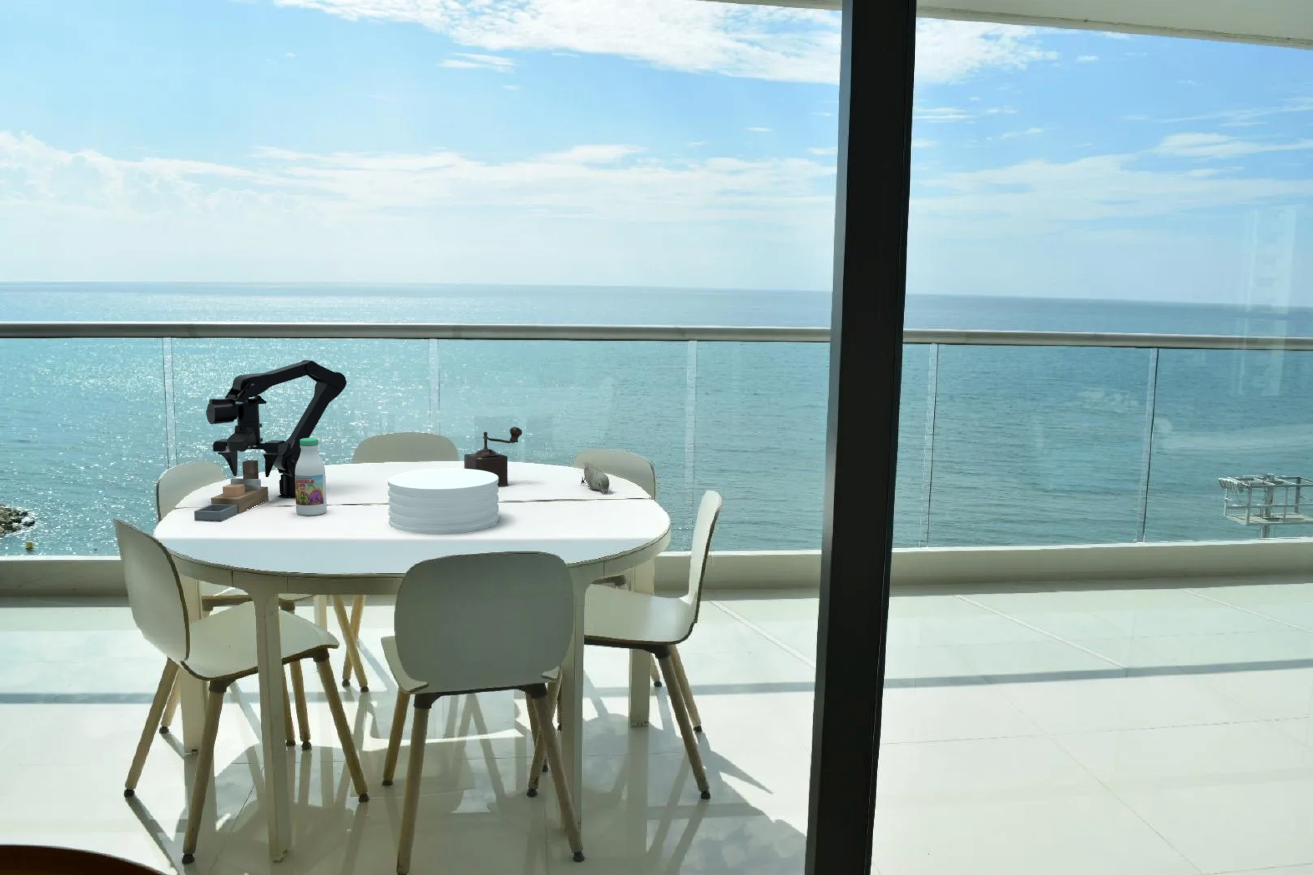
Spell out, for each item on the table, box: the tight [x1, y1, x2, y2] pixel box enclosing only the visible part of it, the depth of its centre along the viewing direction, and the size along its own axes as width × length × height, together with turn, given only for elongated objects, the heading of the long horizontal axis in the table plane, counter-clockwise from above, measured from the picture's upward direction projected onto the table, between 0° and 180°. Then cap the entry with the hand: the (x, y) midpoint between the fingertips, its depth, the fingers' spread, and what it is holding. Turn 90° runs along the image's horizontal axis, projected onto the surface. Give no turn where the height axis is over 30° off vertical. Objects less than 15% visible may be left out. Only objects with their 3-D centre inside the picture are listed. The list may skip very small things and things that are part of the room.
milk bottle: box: [295, 437, 328, 516], centre depth 263 cm, size 8×8×20 cm
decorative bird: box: [580, 461, 610, 495], centre depth 302 cm, size 5×16×8 cm, turn 26°
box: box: [193, 503, 239, 523], centre depth 258 cm, size 7×8×2 cm
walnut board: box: [210, 486, 270, 515], centre depth 271 cm, size 8×16×4 cm, turn 175°
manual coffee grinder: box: [463, 426, 523, 488], centre depth 306 cm, size 16×11×18 cm
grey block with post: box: [230, 459, 262, 491], centre depth 275 cm, size 8×5×8 cm, turn 85°
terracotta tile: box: [222, 483, 245, 497], centre depth 267 cm, size 4×4×2 cm
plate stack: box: [387, 467, 500, 535], centre depth 258 cm, size 28×28×12 cm
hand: (251, 476), depth 276 cm, fingers open, 9 cm apart
